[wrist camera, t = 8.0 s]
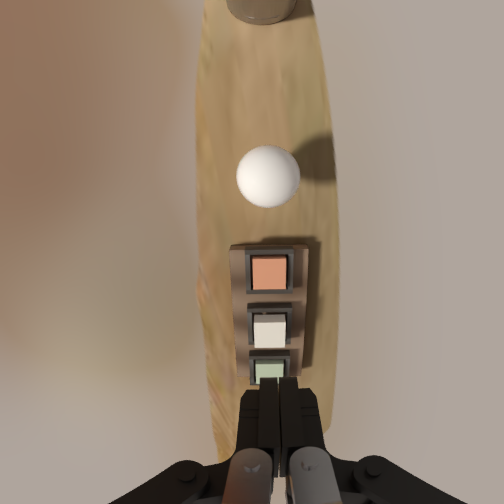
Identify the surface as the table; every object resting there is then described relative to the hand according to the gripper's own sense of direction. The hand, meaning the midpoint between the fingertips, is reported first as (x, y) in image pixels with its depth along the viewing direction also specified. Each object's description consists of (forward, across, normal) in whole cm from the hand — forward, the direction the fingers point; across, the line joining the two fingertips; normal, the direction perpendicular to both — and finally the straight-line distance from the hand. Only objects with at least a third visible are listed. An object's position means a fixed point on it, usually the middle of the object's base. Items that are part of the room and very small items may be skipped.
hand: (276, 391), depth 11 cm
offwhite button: (+25, 0, +13) cm, 28 cm away
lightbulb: (+29, 0, -7) cm, 30 cm away
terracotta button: (+27, 0, +5) cm, 27 cm away
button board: (+29, 0, +13) cm, 32 cm away
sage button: (+27, 0, +21) cm, 34 cm away
